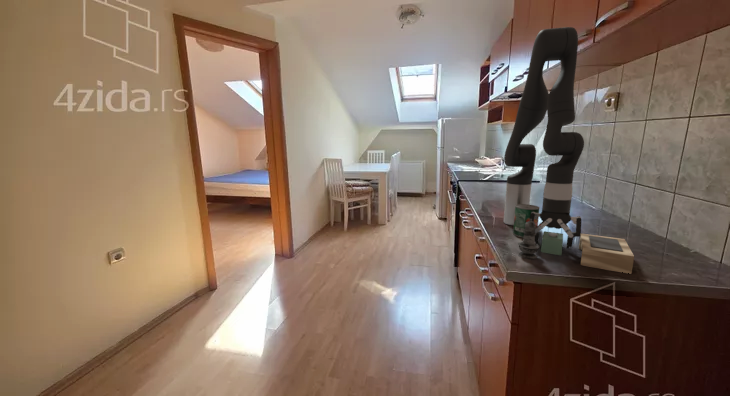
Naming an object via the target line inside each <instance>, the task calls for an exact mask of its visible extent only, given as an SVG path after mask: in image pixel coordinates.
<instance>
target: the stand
mask: <svg viewBox="0 0 730 396" xmlns="http://www.w3.org/2000/svg"><path fill="white" fill-rule="evenodd" d="M578 250H581V258H580V266H584V267H590V268H595V269H601V270H606V271H610V272H611V271H612V272H618V273H622V272H623V274H628V273H629V274H630V275H632V273H633V266H634V262H635V261H634V260H635V255H634V253H633V252H632V250H631V248H630V246H629V245H628V243H627V241H626V239H625V238H619V237H612V236H611V237H610V236H603V235H596V234H590V233H589V234H587V233H582V232H581V236H580V237H579V244H578ZM629 274H628V275H629Z"/></svg>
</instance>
